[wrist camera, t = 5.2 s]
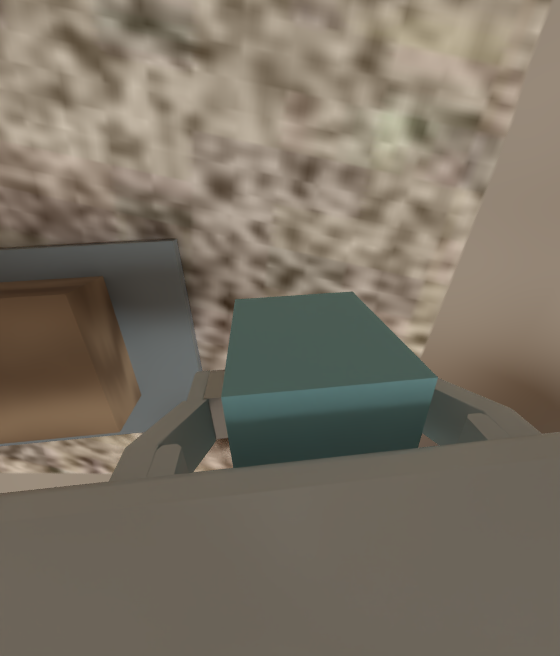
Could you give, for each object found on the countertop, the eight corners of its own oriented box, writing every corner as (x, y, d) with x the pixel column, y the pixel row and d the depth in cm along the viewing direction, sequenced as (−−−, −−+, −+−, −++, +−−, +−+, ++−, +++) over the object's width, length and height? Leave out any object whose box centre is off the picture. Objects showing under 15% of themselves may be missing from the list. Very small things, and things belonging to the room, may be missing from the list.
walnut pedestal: (-58, 285, 18) (-138, 307, 14) (102, 276, 18) (65, 294, 15) (13, 406, 22) (-35, 447, 18) (141, 395, 22) (119, 432, 19)
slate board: (-109, 254, 17) (-129, 257, 16) (176, 239, 19) (172, 240, 18) (7, 437, 24) (-3, 446, 23) (211, 417, 25) (209, 425, 24)
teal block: (235, 299, 11) (221, 396, 6) (352, 291, 12) (438, 377, 6) (246, 393, 14) (243, 523, 8) (344, 384, 14) (401, 504, 9)
